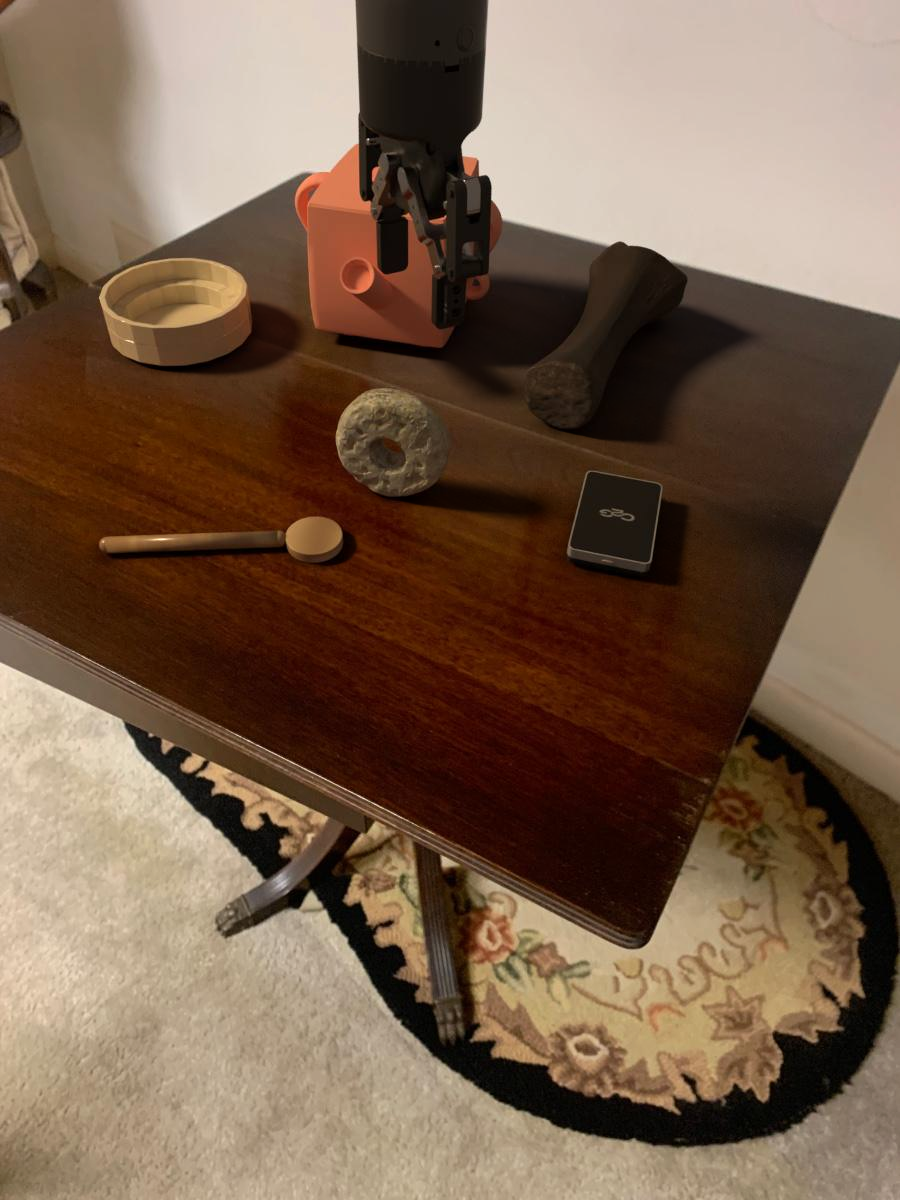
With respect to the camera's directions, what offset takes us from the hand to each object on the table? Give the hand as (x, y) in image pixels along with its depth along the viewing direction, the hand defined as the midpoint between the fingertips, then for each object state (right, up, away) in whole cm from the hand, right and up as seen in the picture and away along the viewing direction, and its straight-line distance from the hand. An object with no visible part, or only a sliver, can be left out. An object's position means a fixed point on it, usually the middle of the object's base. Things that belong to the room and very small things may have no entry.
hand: (419, 297), depth 63 cm
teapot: (-5, +9, +37) cm, 39 cm away
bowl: (-27, +8, +35) cm, 45 cm away
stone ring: (-3, -11, +18) cm, 22 cm away
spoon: (-17, -17, +12) cm, 27 cm away
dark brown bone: (+19, +4, +34) cm, 39 cm away
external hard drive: (+17, -16, +15) cm, 27 cm away
